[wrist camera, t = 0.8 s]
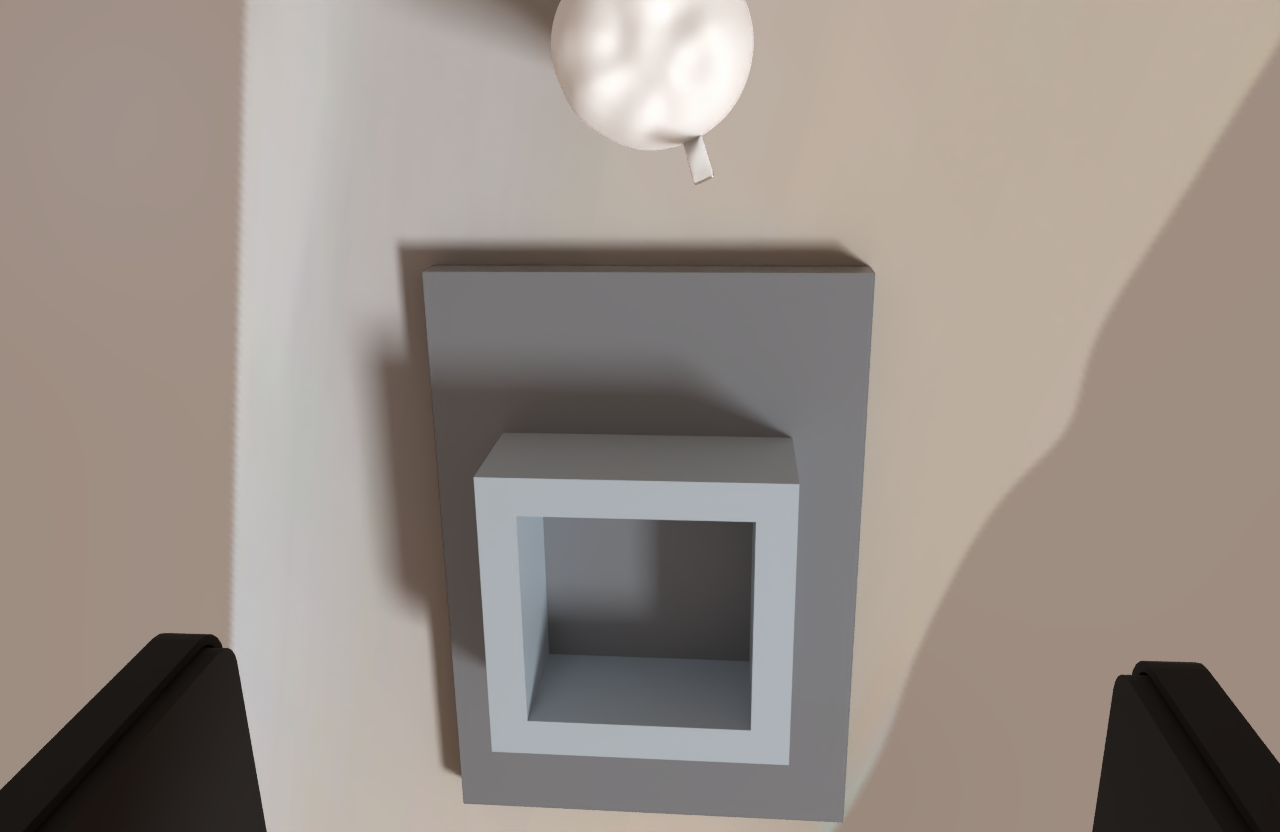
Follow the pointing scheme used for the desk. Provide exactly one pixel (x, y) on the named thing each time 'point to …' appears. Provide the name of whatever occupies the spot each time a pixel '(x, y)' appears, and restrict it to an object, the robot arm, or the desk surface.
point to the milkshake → (654, 69)
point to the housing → (652, 531)
